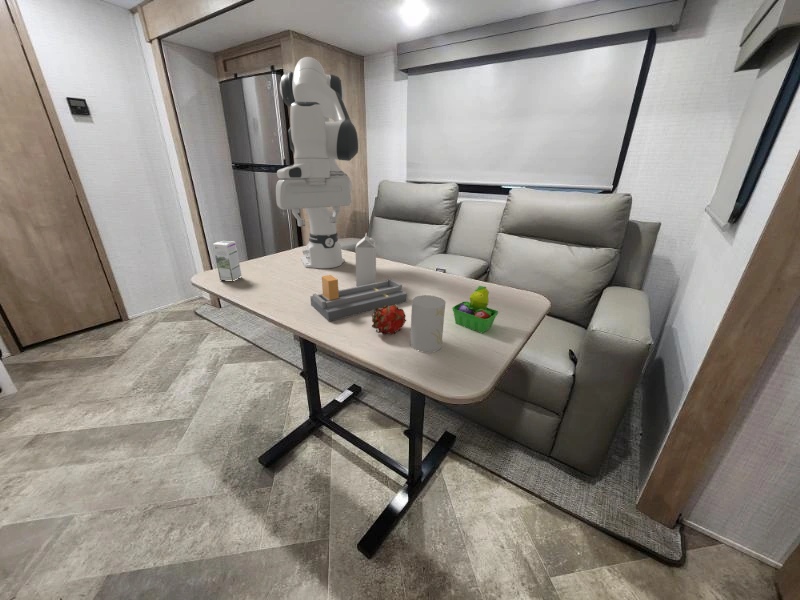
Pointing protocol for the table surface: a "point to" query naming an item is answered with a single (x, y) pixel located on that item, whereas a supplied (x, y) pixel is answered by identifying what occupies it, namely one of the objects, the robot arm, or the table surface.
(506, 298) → the table surface
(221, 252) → the syrup box
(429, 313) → the cup
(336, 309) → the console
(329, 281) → the fader
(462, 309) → the fruit basket
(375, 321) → the dragon fruit
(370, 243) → the milk carton
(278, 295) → the table surface
